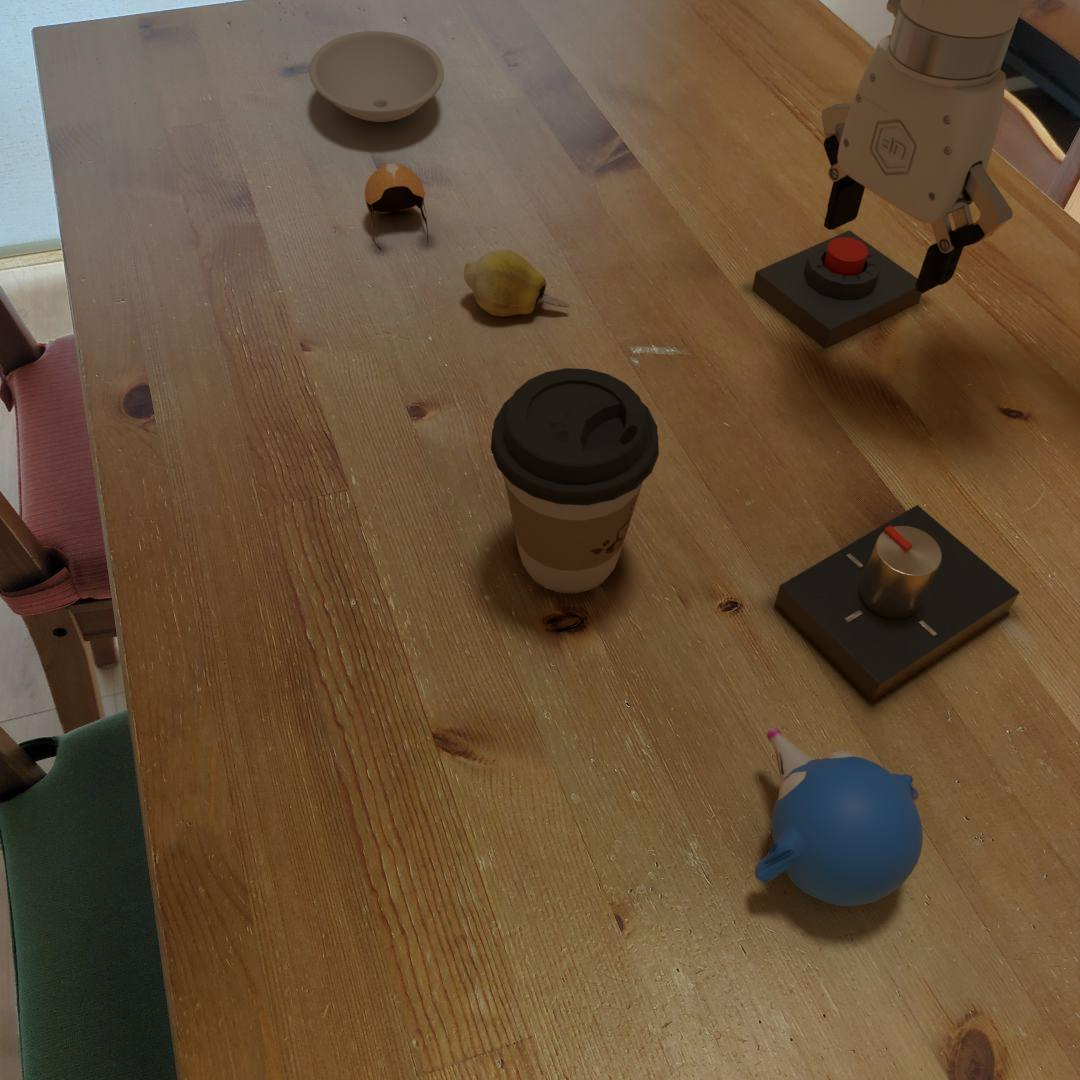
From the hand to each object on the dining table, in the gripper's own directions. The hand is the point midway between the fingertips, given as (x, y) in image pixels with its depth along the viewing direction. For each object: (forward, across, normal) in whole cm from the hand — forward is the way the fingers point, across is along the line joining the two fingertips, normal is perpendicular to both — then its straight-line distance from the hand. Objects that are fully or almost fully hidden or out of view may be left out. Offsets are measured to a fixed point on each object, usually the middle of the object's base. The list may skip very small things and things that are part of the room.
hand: (884, 253), depth 87 cm
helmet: (+14, -42, -20) cm, 48 cm away
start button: (+10, -9, +7) cm, 15 cm away
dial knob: (+11, +20, -16) cm, 28 cm away
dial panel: (+13, +20, -15) cm, 28 cm away
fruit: (+14, -24, -18) cm, 33 cm away
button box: (+13, -9, +8) cm, 18 cm away
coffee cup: (+13, +2, -32) cm, 35 cm away
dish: (+14, -61, -11) cm, 64 cm away
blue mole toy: (+13, +29, -33) cm, 46 cm away
